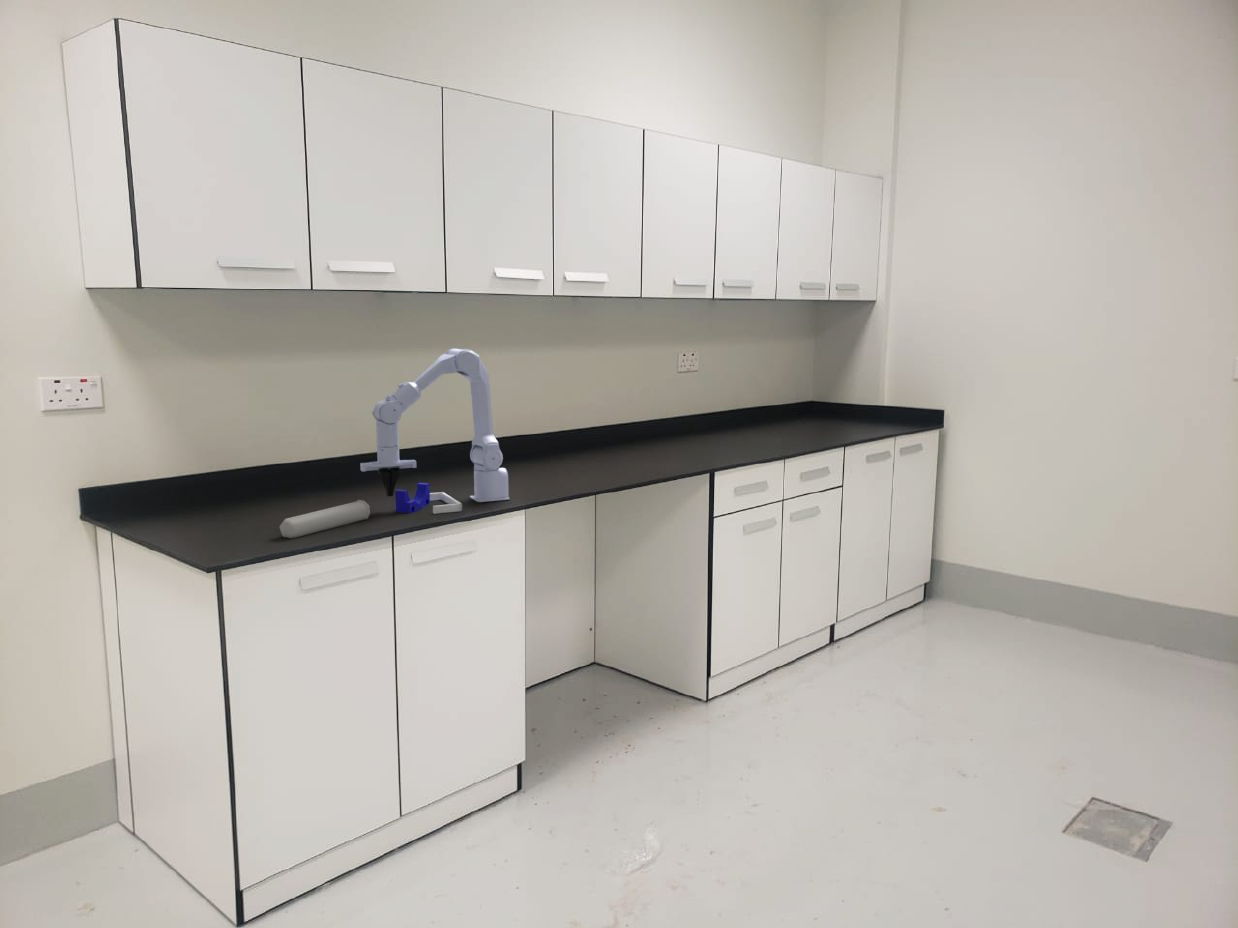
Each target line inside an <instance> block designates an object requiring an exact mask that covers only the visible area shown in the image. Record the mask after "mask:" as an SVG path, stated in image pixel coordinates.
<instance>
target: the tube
mask: <svg viewBox="0 0 1238 928" xmlns="http://www.w3.org/2000/svg"><path fill="white" fill-rule="evenodd" d="M370 515H371V510H370V505H369V504H368V503H367V502H366V500H361V499H357V500H356V501H353V502H349V503H345V504H340V505H336V506H332V507H329V508H325V509H320V510H316V511H312V512H307V513H304V514H299V515H296V516H295V515H294V516H292V517H287V518H284V520H283V522H281V524H280V525H279V530H280V533H281V535H282V537H283V538H287V539H288V538H289V539H295V538H298V537H303V536H307V535H310V534H313V533H319V532H321V531H325V530H330V529H333V528H338V527H340V526H341V527H342V526H345V525H349V524H353V523H357V522H361V521H364V520H368V518H369V517H370Z"/></svg>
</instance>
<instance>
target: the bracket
mask: <svg viewBox="0 0 1238 928" xmlns="http://www.w3.org/2000/svg"><path fill="white" fill-rule="evenodd" d="M432 501H443V502H444V503H446V504H440V505H432V514H434V515H435V514H446V513H456V512H462V511H463V503H461V502H460V501H459V500H456V499H455V498H454V497H452V496H451V495H448V494H447V493H445V492H444V491H442V492H441V491H440V492H430V502H432Z"/></svg>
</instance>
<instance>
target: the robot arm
mask: <svg viewBox="0 0 1238 928" xmlns="http://www.w3.org/2000/svg"><path fill="white" fill-rule="evenodd" d="M456 373H457V374H460V375H461V376H463V377H464V378H465V379H467V380H468V381H469V382H470V385H469V386H470V394H471V406H472V407H471V408H472V417H473V431H474V437H473V438H472V441H471V449H470V452H469V457H470V460H471V461H470V462H472V463H473V465H474V466H473V479H474V480H473V483H474V487H473V489H474V490H473V491H474V495H470V496H469V498H470V499H472V500H473V501H475V502H478V503H483V502H484V503H485V502H495V501H497V502H498V501H506V500H510V497H509V474H508V471H507V468H505V467H500V466H501V465H502V463H503V459H504V457H503V455H504V454H503V453H502V451H501V449H500V444H499V441H498V440H497V439H496V437H495V435H494V424H493V423H494V422H493V421H494V420H493V411H492V410H493V409H492V399H491V388H490V387H491V386H490V385H491V384H490V375H489V371H488V370H487V368H486V366H484V364H483V362H482V361H481V357H480V355H479V354H478V353H476V352H475V351H473V350H471V349H461V348H460V349H459V348H456V347H455V348H451V349H448V350H447V351H446V352H445V353H443V354H441V355H440V356H439V357H438V358H437V359H436V360H434V362H433V363H432V364H431V365H430V366H428V367H427V368H426V369H425V371H423V372H422V373H420V375H419V376H418V377H417V378H416V379H415V380H413V382H412V381H406V382H404V383H403V382H400V383H399V384H398V388H397V389H396V390H395V391H393V392H392V393H391V394H390V395H388V394H387V395H386V396H385V397H384V399H385V400H380V401H379V402H377V403H376V404H375V405H374V408H373V410H372V412H371V413H372V416H373V418H374V419H375V421H376V423H375V424H376V428H375V429H376V453H377V461H370V462H360V463H359V464H360V471H361V472H367V471H369V472H370V471H377V473H378V475H379V477H380V479H381V481H382V483H383V487H384V489H385V495H386V496H387V497H393V496H394V493H395V487H396V484H397V481H398V479H399V477H400V474H401V469H411V468H412V469H415V468H416V469H417V460H415V459H402V460H401V459H400V441H399V440H400V437H399V436H400V435H399V432H400V431H399V421H400V420H401V418H402V414H403V413H404V412H406V411H407V410H408V409H409V408H410V407H413V405H414V404H415V403H417V402H418V401H419V400H420V399H421V398H422V397H421V395H422V392H423V391H424V390H425V389H426V388H427V387H429V386H430V385H431V384H433V383H434V382H435V381H437V380H438V379H439V378H441V377H442V376H443V375H447V374H449V375H450V374H456Z"/></svg>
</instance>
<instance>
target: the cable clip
mask: <svg viewBox="0 0 1238 928" xmlns="http://www.w3.org/2000/svg"><path fill="white" fill-rule="evenodd" d="M416 486H417V487H416V492H415V494H414V496H413V499H412V500H411V498H410V496H409V490H408V489H407V490H406V489H394V495H395V512H396V513H405V514H411V513H414V512H416V511H417V512H418V511H419V510H420V511H421V510H423V507H425V506H429V505H430V504H431V501H430V493H431V491H430V489H431V488H430V487H431V486H430V483H427V482H418V483H417V484H416Z"/></svg>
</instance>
